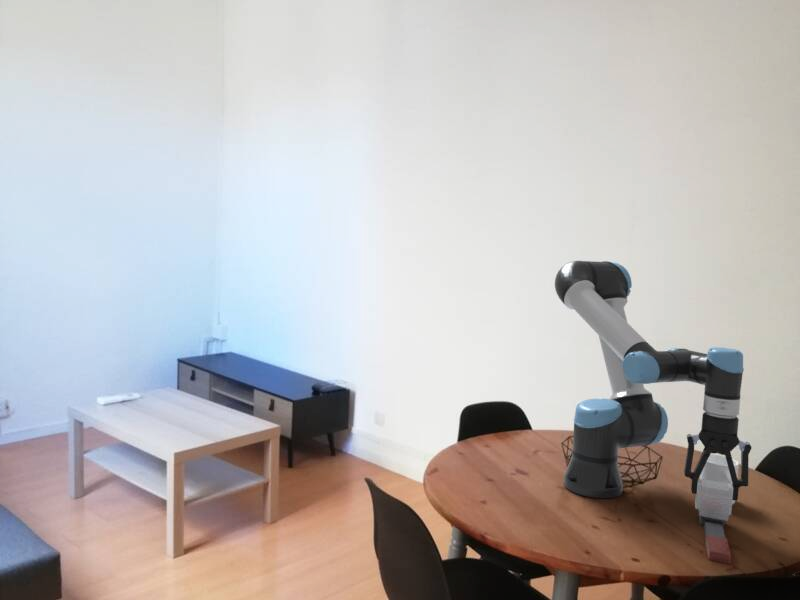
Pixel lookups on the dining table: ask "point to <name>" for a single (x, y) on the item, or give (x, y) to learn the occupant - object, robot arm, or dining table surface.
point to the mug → (718, 470)
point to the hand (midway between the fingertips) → (712, 509)
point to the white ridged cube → (714, 499)
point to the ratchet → (716, 539)
